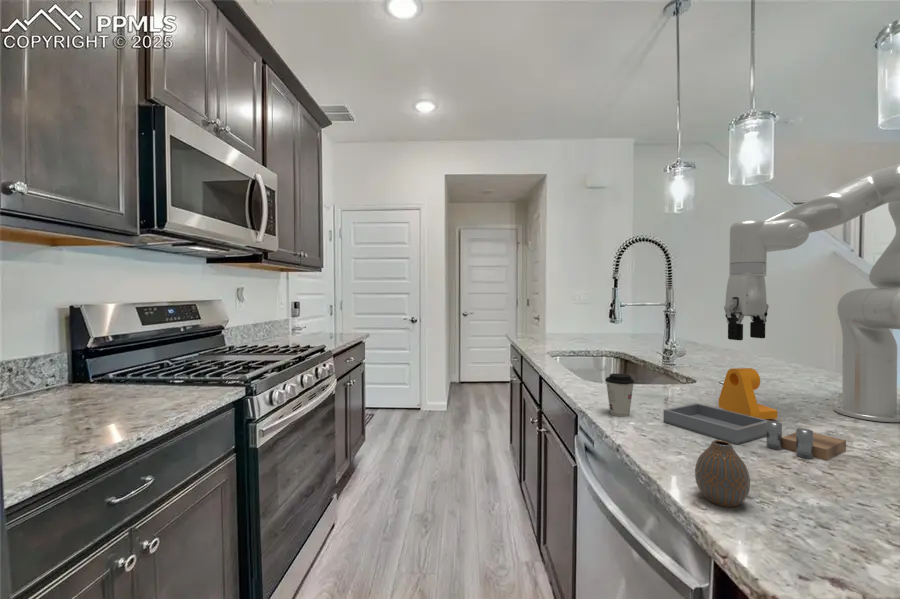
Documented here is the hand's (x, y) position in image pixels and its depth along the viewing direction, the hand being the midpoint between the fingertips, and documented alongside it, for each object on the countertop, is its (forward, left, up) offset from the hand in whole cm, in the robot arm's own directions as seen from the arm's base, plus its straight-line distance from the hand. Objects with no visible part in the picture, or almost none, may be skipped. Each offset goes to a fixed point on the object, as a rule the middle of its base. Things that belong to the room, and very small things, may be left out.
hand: (746, 338), depth 103 cm
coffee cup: (+27, -16, -20) cm, 37 cm away
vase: (+49, +22, -20) cm, 57 cm away
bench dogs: (+18, +17, -19) cm, 32 cm away
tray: (+17, +2, -19) cm, 26 cm away
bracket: (0, 0, -20) cm, 20 cm away
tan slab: (+13, +19, -20) cm, 30 cm away
